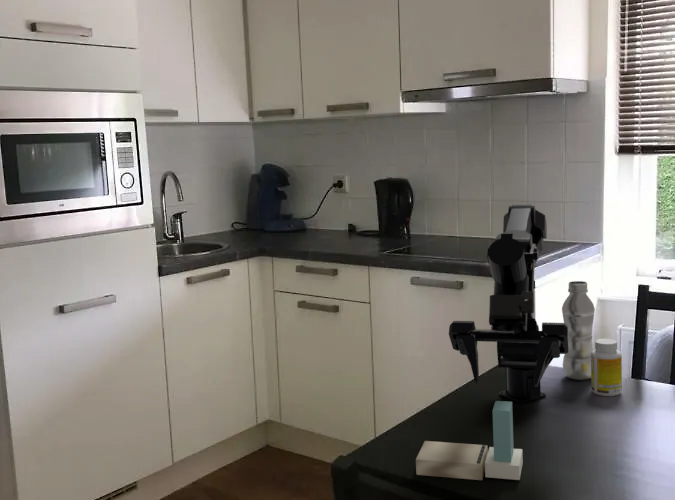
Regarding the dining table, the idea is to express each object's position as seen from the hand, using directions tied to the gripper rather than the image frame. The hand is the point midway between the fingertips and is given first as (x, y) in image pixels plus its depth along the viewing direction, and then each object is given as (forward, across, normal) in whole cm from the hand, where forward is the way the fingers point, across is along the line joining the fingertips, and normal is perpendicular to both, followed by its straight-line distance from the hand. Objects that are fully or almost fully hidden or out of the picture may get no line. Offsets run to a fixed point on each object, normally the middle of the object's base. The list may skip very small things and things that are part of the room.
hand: (505, 384), depth 117 cm
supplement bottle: (-14, +16, +31) cm, 38 cm away
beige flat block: (+12, -8, +5) cm, 15 cm away
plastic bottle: (-20, +11, +37) cm, 43 cm away
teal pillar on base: (+12, 0, +5) cm, 13 cm away
